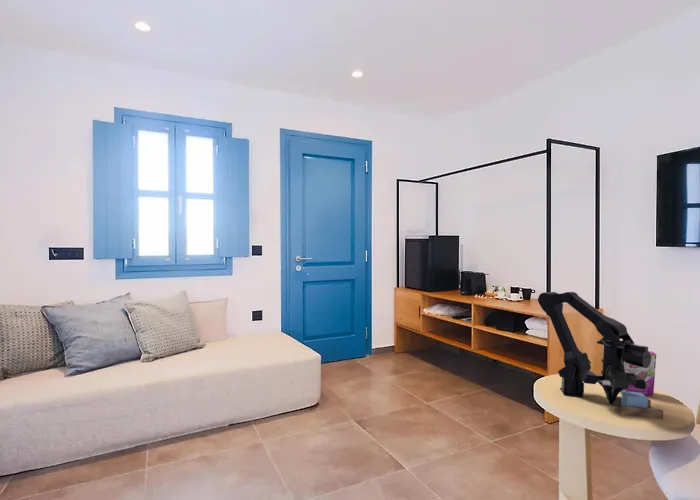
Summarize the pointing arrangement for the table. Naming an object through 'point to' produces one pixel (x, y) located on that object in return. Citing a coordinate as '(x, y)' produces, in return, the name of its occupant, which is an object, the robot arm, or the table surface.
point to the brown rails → (639, 410)
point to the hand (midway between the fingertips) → (610, 404)
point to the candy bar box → (642, 376)
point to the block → (634, 399)
